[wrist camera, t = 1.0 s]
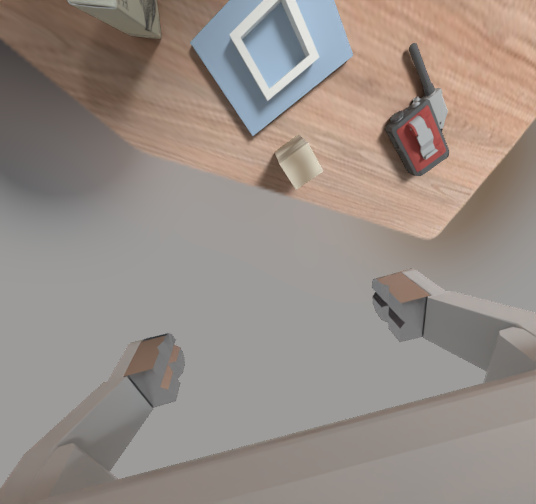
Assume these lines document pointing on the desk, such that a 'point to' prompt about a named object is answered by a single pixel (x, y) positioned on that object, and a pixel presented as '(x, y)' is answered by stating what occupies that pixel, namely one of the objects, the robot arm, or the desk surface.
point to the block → (298, 161)
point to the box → (125, 15)
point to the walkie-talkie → (420, 125)
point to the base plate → (271, 53)
